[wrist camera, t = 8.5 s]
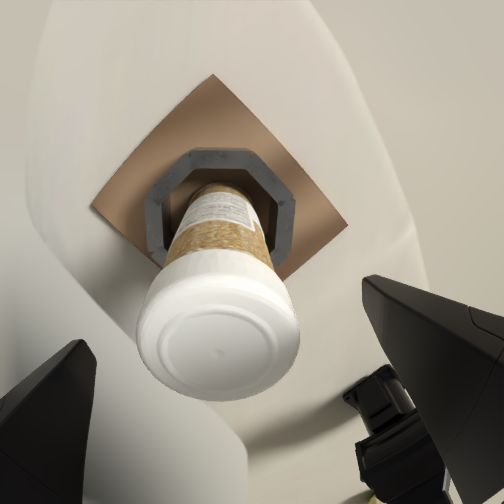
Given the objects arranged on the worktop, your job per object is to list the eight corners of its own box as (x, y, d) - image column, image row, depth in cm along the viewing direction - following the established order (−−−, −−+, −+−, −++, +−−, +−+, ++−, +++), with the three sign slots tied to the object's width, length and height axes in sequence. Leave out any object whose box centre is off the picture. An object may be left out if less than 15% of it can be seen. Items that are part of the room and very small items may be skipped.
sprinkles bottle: (247, 249, 21) (278, 411, 9) (182, 239, 20) (135, 396, 8) (261, 185, 19) (326, 294, 7) (192, 173, 19) (130, 266, 6)
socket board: (345, 222, 21) (348, 225, 21) (228, 320, 24) (228, 325, 23) (213, 75, 17) (213, 73, 16) (94, 202, 19) (91, 204, 19)
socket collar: (308, 214, 20) (322, 227, 18) (219, 291, 22) (219, 314, 19) (222, 120, 17) (221, 117, 15) (131, 212, 19) (117, 226, 16)
